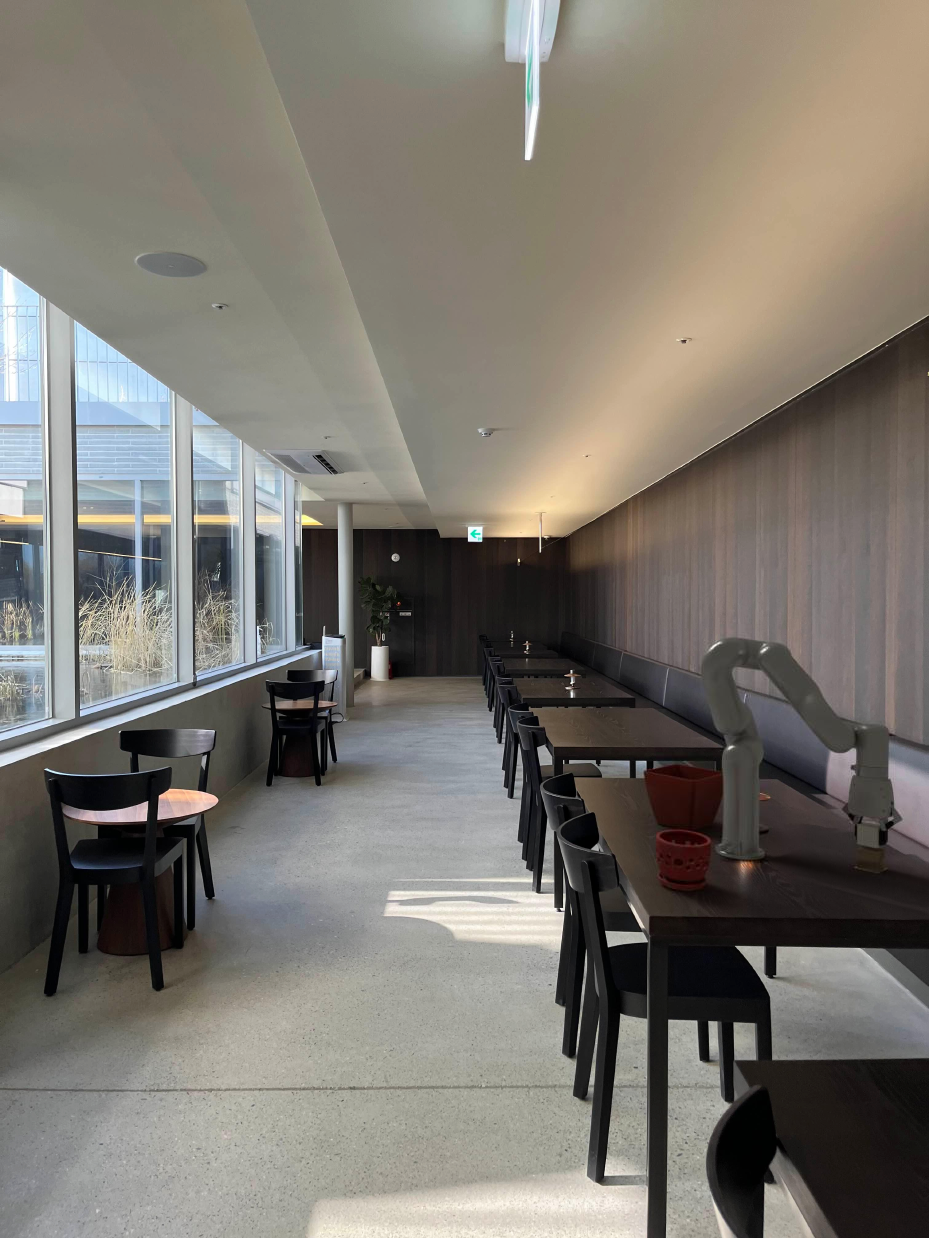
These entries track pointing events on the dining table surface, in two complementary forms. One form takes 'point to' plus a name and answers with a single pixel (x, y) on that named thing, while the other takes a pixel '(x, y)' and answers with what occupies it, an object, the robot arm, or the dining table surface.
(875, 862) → the walnut block
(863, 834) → the cream block
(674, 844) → the plant pot
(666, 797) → the plant pot
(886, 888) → the dining table surface
